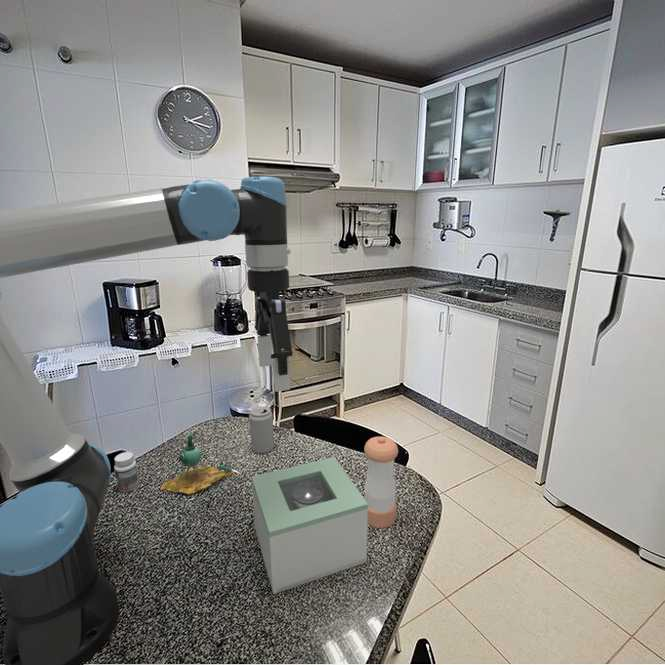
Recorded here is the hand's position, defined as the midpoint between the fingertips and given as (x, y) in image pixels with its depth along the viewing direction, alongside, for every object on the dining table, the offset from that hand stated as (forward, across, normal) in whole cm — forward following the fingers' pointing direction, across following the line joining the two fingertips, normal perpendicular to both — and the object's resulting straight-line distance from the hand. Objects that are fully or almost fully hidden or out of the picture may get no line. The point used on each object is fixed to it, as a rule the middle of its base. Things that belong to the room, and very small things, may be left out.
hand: (273, 377), depth 78 cm
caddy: (+33, -10, -3) cm, 34 cm away
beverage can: (+33, +28, -2) cm, 43 cm away
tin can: (+32, -10, -3) cm, 33 cm away
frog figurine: (+33, +19, +16) cm, 41 cm away
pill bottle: (+33, +24, +32) cm, 52 cm away
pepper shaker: (+33, -8, -20) cm, 39 cm away
